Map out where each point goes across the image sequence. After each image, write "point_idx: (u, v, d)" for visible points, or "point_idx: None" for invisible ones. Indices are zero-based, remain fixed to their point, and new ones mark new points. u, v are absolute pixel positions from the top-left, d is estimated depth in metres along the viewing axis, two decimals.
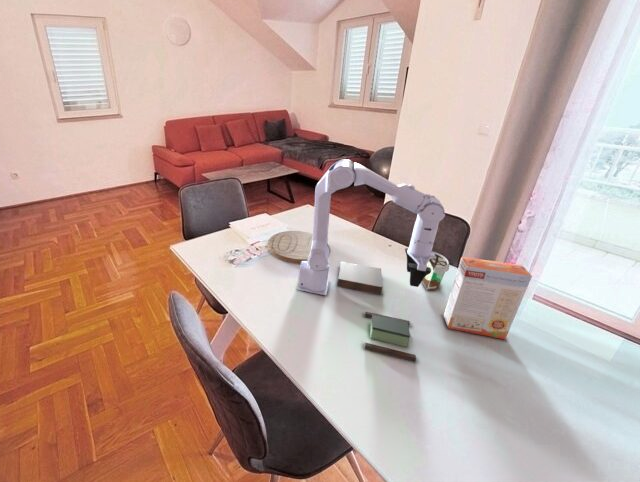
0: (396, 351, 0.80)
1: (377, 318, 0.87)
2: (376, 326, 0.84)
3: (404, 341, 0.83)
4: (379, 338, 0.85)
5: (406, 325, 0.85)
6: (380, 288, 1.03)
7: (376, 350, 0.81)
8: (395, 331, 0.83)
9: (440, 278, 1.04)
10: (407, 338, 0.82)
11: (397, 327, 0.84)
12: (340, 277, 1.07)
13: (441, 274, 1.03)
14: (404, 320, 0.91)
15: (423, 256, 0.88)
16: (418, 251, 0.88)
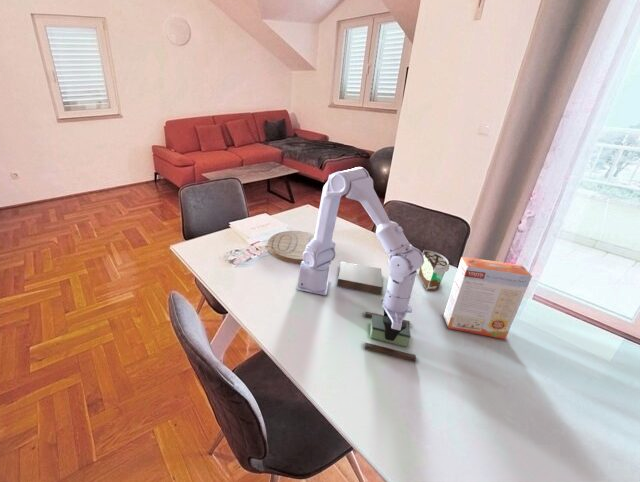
0: (396, 351, 0.80)
1: (377, 318, 0.87)
2: (376, 326, 0.85)
3: (404, 341, 0.83)
4: (379, 338, 0.85)
5: None
6: (380, 288, 1.03)
7: (376, 350, 0.81)
8: None
9: (440, 278, 1.04)
10: (407, 338, 0.82)
11: None
12: (340, 277, 1.07)
13: (441, 274, 1.03)
14: (404, 320, 0.91)
15: (399, 312, 0.80)
16: (393, 306, 0.80)
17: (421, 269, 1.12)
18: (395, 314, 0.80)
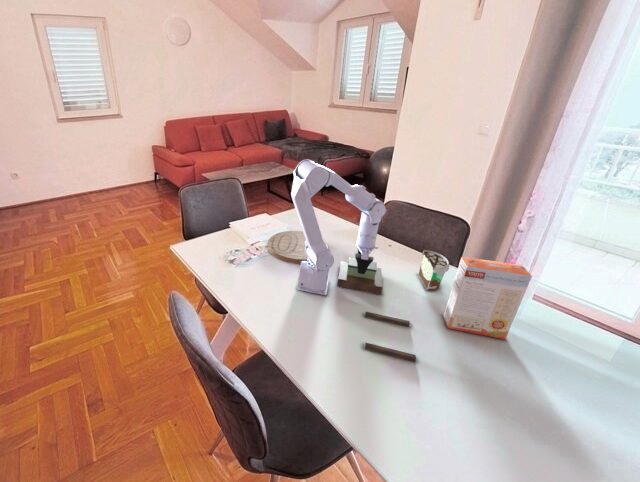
0: (396, 351, 0.80)
1: (352, 259, 1.10)
2: (351, 264, 1.07)
3: (372, 275, 1.06)
4: (353, 274, 1.08)
5: (374, 264, 1.08)
6: (380, 288, 1.03)
7: (376, 350, 0.81)
8: None
9: (440, 278, 1.04)
10: (374, 272, 1.05)
11: None
12: (340, 277, 1.07)
13: (441, 274, 1.03)
14: (404, 320, 0.91)
15: (367, 247, 1.02)
16: (363, 243, 1.02)
17: (421, 269, 1.12)
18: (364, 249, 1.02)
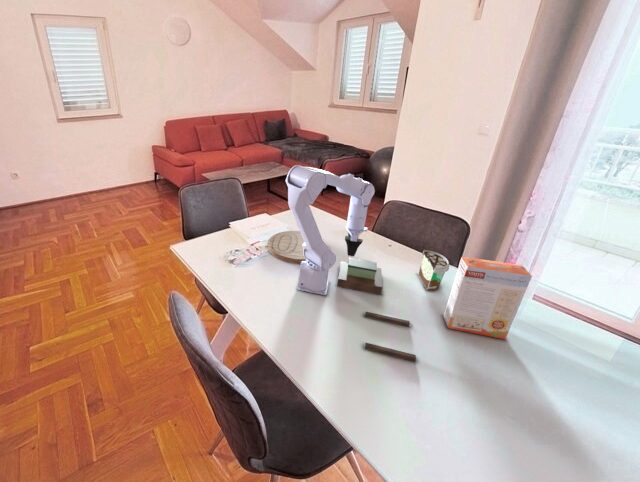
0: (396, 351, 0.80)
1: (352, 259, 1.10)
2: (351, 264, 1.07)
3: (372, 275, 1.06)
4: (353, 274, 1.08)
5: (374, 264, 1.08)
6: (380, 288, 1.03)
7: (376, 350, 0.81)
8: (365, 267, 1.06)
9: (440, 278, 1.04)
10: (374, 272, 1.05)
11: (367, 265, 1.07)
12: (340, 277, 1.07)
13: (441, 274, 1.03)
14: (404, 320, 0.91)
15: (357, 230, 1.04)
16: (353, 225, 1.04)
17: (421, 269, 1.12)
18: (354, 231, 1.04)
